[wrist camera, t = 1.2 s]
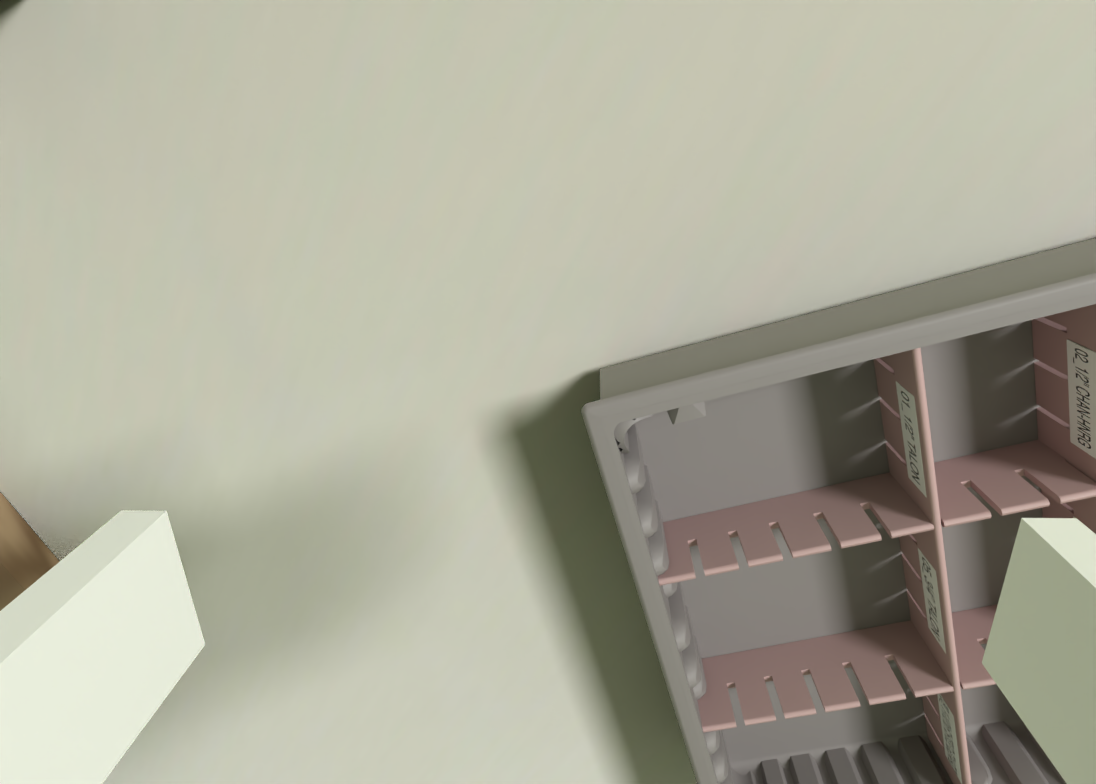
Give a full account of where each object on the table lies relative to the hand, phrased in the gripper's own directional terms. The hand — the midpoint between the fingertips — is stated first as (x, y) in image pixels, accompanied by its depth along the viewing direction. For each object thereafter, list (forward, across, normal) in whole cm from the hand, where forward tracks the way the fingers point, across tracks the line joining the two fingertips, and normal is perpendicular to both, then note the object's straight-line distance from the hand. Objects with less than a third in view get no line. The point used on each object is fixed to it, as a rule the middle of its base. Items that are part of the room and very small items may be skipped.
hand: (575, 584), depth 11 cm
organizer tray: (+27, +23, -16) cm, 39 cm away
